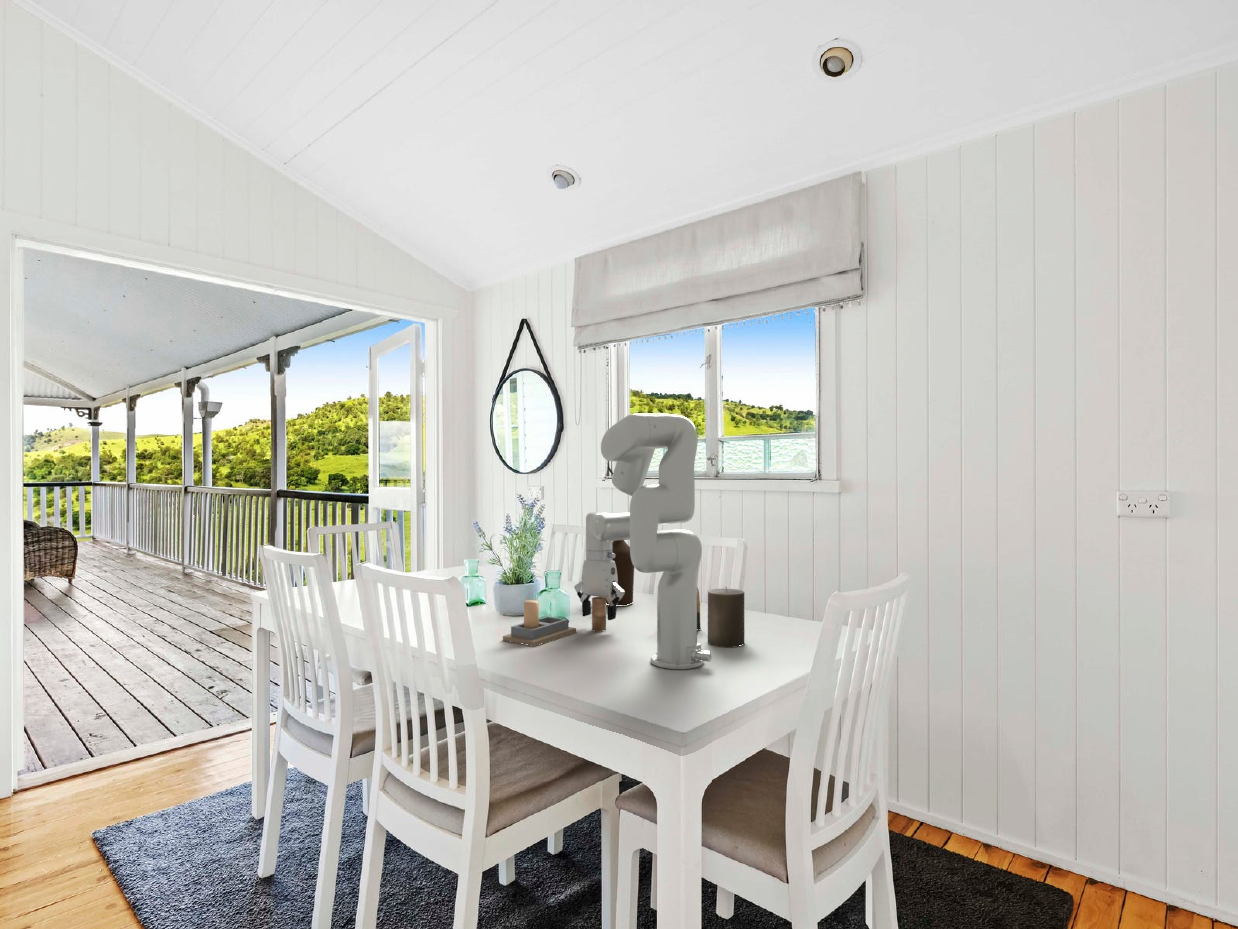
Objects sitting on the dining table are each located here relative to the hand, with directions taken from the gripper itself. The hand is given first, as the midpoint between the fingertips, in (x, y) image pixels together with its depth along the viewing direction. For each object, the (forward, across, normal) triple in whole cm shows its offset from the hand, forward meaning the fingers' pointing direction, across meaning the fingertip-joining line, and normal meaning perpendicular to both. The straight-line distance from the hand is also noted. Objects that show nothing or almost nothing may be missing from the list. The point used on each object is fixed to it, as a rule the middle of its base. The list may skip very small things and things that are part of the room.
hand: (598, 617), depth 202 cm
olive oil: (+4, +15, -33) cm, 36 cm away
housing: (+4, +9, +15) cm, 18 cm away
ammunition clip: (+4, -19, -14) cm, 24 cm away
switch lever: (+4, 0, 0) cm, 4 cm away
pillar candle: (+4, -36, -7) cm, 37 cm away
